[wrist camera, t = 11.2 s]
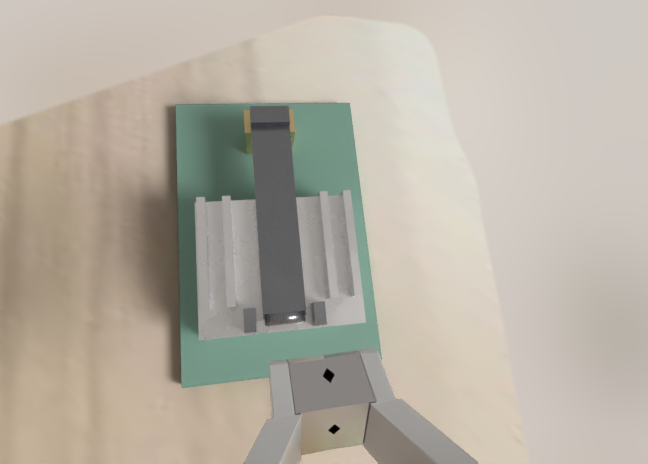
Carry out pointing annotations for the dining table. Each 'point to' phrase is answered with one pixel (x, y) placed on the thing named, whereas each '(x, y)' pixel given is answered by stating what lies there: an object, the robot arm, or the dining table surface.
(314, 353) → the circuit board
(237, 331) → the silver and yellow blocks
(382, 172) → the dining table surface
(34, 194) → the dining table surface
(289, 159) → the block
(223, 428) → the dining table surface
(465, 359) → the dining table surface
